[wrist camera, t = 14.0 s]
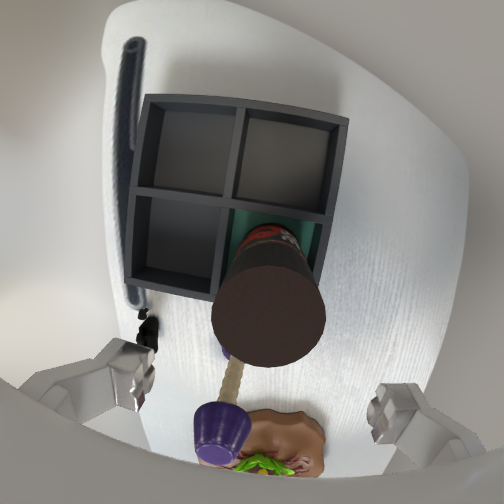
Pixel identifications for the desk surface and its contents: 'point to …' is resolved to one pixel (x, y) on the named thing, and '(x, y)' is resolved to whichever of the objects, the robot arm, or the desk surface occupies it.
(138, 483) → the robot arm
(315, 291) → the deodorant
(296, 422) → the plant
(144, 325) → the wireless earbuds
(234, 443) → the toy lamp
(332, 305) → the desk surface
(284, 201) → the compartment tray
